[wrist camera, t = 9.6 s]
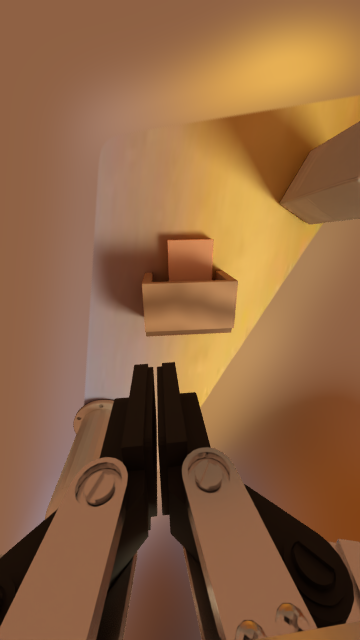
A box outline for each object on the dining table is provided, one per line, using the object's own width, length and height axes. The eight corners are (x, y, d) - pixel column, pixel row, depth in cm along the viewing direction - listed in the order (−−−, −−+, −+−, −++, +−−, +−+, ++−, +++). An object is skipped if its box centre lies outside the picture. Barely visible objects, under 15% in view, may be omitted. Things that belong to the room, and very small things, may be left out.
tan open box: (219, 315, 41) (233, 335, 34) (148, 318, 40) (146, 339, 33) (222, 270, 38) (237, 281, 31) (145, 272, 37) (141, 284, 30)
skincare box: (307, 225, 37) (405, 224, 22) (273, 200, 35) (355, 182, 20) (343, 172, 34) (480, 131, 20) (309, 142, 32) (431, 74, 18)
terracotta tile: (207, 308, 41) (210, 312, 39) (169, 310, 41) (170, 314, 39) (210, 238, 37) (213, 239, 35) (167, 239, 36) (167, 240, 34)
